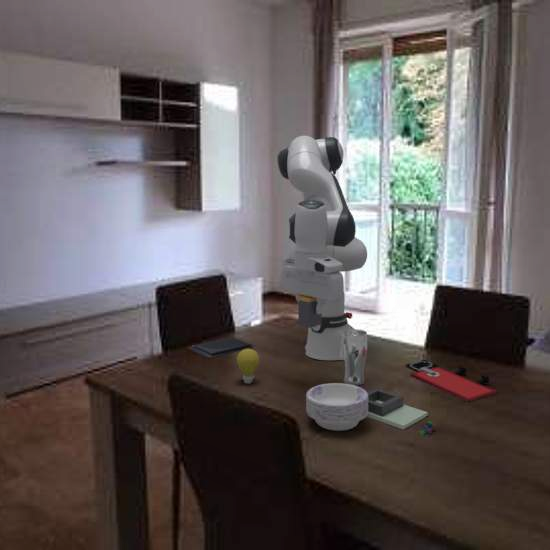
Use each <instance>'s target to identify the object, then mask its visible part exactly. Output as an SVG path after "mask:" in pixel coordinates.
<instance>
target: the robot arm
mask: <svg viewBox="0 0 550 550" xmlns="http://www.w3.org/2000/svg"><path fill="white" fill-rule="evenodd" d="M343 160H344V149H343V146H342V144H341V143H340V141H339V140H338V139H337V138H336V137H333V136H332V137H331V136H327V137H324V138H320V139H315V138H314V137H311V136H309V135H300V136H296V137H295V138H294V139H293V140H292V141H291V142H290V144H289V146H288V147H286V148H284V149H282V150H280V152H279V153H278V154H277V160H276V163H277V168H278V171H279V173H280V175H281V176H282V177H283V178H284V179H285V180H288V181H289V182H290V185H292V186H293V188H295V189H296V190H297V191H299V192H301V193H302V196H303V201H300V202H298V203H297V204H296V210H295V212H294V214H292V216H290V218H289V219H288V223H289V236H288V239H290V241H292V243H293V244H292V246H291V247H290V250H289V255H288V257H289V258H286V259H285V260H284V261H283V262H282V264H281V265H282V267H281V273H280V282H279V286H280V287H279V288H280V290H281V291H282V292H286V293H291V294H295V299H296V302H297V304H298V305H299V296H302V295H304V296H309V297H314V298H317V302H318V304H317V307H314V314H318V315H319V314H321V313H322V324H321V325H317V326H314V327H310V328H308V330H307V338H306V340H307V341H306V344H305V345H304V350H305V355H306V356H307V357H309V358H311V359H315V360H320V361H344V354H343V339H344V331H346V330H350V329H355V328H354V327H353V326H352V325H351V324H349V322H348V319H350V320H352V318H353V313H352V312H345V297H346V296H345V295H346V294H345V291H344V290H345V289H344V288H345V283H344V276H343V273H342V272H344V273H345V272H351V271H355V270H359V269H362V268H363V267H364V266H365V264H366V262H367V259H368V251H367V247H366V245H365V243H364V241H362V240H360V239H359V238H357V237H356V232H357V231H356V227H357V226H356V221H355V218H354V216H353V215H352V212H351V210H350V209H349V207H348V204H347V201H346V198H345V196H344V192H343V191H342V188H341V184H340V183H339V181H338V180H339V179H338V177H336V174H337V172H338V170H339V169H340V168H341V166H342V165H343V163H344V162H343Z"/></svg>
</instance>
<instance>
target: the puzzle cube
mask: <svg viewBox="0 0 550 550" xmlns="http://www.w3.org/2000/svg"><path fill="white" fill-rule="evenodd" d="M435 425H436V424H435V423H434V422H433V421H427V422H426V424H425V425H424V426H423V427H422V428H421V429H420V430H418V431H417V434H420V435H423V436H425V435H428V436H430V435H431V434H432V433H433V432H434V431H435V430H436V429H435V428H436V427H435Z"/></svg>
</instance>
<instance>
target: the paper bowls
mask: <svg viewBox="0 0 550 550" xmlns="http://www.w3.org/2000/svg"><path fill="white" fill-rule="evenodd" d="M367 392H368V391H366V390H365V389H364V388H362V387H361V386H360V387H359V385H350V384H346V383H342V382H335V383H334V382H331V383H322V384H318V385H316V386H313V387H310V389H308V390H307V392H306V394H305V397H306V399H305V404H306V405H305V408H306V409H305V410H306V414H307V415H308V417H310V418H311V419H313V420H315V422H316V424H317V425H318V426H319V427H321V428H322V429H326V430H330V431H333V432H334V431H335V432H339V431H340V432H342V431H349V430H351V429H353V428H355V427H357V425H358V424H359V423H360V421H362V420H364V419H366V417H367V415H368V398H369V397H368V393H367Z"/></svg>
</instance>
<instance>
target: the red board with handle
mask: <svg viewBox="0 0 550 550" xmlns="http://www.w3.org/2000/svg"><path fill="white" fill-rule="evenodd" d="M404 364H405V363H404ZM405 366H407V367H409V368H411V369H414V370H416V372H411V373H409V375H410V376H411V377H410V378H412V377H414V378H413V379H415V378H416V379H415V380H417V379H418V380H417V381H419V380H421V381H420V382H422V381H423V382H422V383H424V382H425V383H424V384H426V383H428V384H430V385H429V386H431V385H433V386H435V387H437V388H436V389H438V388H439V389H438V390H440V389H442V390H444V391H443V392H445V391H447V392H449V393H451V394H454V395H456V396H458V397H461V398H463V399H466V400H468V401H470V400H473V399H476V398H479V397H483V396H486V395H490V394H493V393H496V392H497V393H498V391H497V390H496V389H492V388H491V387H487V386H486V385H484V384H483V383H486V384H487V383H489V381H490V376H487V375H485V374H482V375H481V377H480V378H481V379H479V380H478V381H473V380H471V379H468V378H466V377H465V376H462V375H460V374H463V375H465V374H466V375H467V367H465V366H462V365H461V366H459V368H458V370H456V371H455V372H452V371H449V370H447V369H444V368H442V367H440V365H438V364H436V363H434V362H431V361H429V360H426V359H422V360H418V361H414V362H413V361H412V362H410V363H406V364H405ZM428 384H427V385H428ZM481 384H482V385H481ZM433 386H432V387H433ZM435 387H434V388H435ZM442 390H441V391H442ZM447 392H446V393H447ZM449 393H448V394H449ZM451 394H450V395H451ZM454 395H453V396H454ZM456 396H455V397H456ZM458 397H457V398H458ZM461 398H460V399H461ZM463 399H462V400H463ZM468 401H467V402H468ZM470 402H471V401H470Z"/></svg>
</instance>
